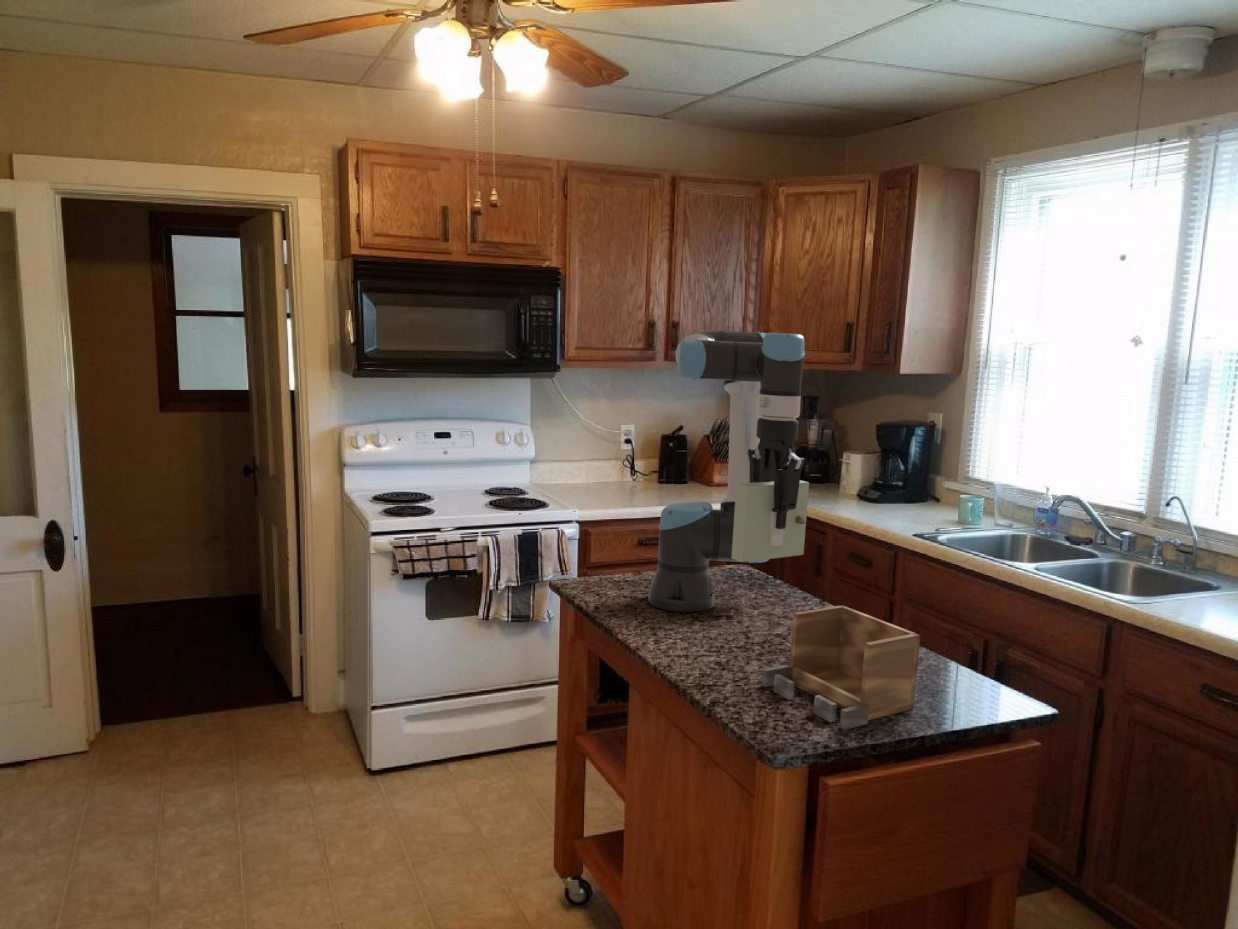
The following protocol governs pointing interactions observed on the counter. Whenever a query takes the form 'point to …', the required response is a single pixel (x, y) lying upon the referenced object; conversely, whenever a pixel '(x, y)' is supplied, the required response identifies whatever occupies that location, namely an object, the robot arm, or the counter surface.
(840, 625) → the carcass
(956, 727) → the counter surface
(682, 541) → the robot arm
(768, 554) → the door
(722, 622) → the counter surface
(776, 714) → the counter surface
